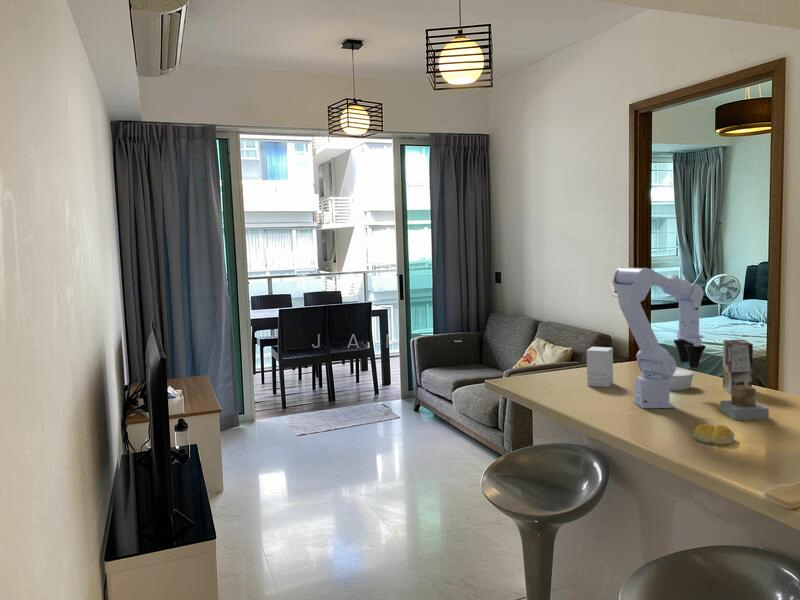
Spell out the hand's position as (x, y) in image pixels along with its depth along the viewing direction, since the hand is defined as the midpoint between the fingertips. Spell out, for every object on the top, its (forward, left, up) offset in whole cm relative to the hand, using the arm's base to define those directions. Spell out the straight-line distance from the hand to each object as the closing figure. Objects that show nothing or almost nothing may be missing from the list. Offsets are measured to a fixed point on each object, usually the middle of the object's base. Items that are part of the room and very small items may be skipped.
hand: (689, 364), depth 198 cm
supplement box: (-23, +19, -11) cm, 31 cm away
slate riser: (+7, -20, -10) cm, 24 cm away
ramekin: (0, +13, -11) cm, 17 cm away
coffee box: (+17, +6, -11) cm, 21 cm away
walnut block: (+7, -20, -7) cm, 22 cm away
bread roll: (-9, -40, -11) cm, 43 cm away
